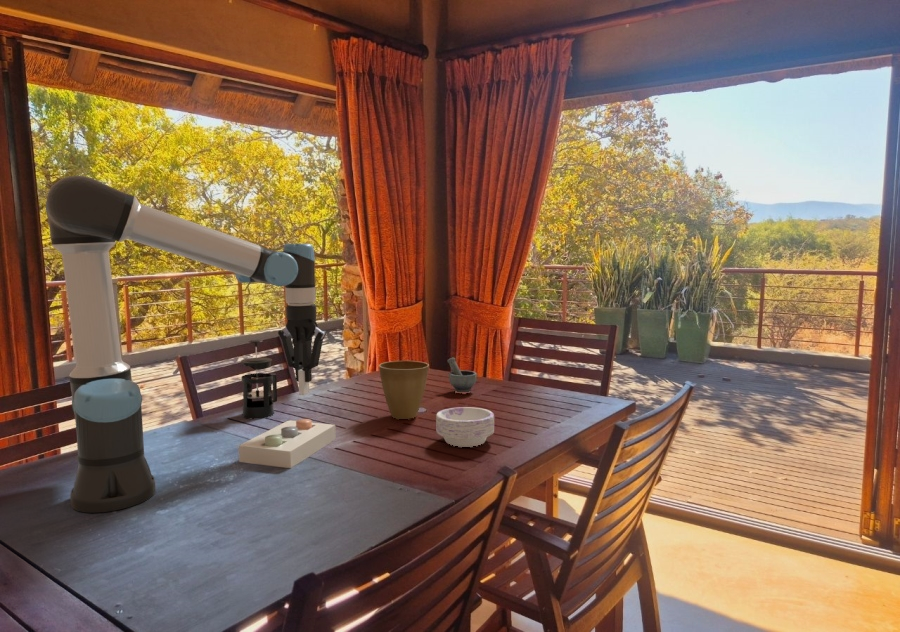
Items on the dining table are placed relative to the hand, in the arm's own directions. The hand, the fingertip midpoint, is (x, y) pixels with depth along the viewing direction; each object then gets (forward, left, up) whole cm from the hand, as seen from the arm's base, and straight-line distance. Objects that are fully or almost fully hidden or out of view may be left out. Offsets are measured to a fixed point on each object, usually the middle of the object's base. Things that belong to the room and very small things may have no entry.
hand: (304, 393), depth 157 cm
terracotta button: (0, 0, -11) cm, 11 cm away
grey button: (-7, 0, -11) cm, 13 cm away
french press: (+19, +27, -13) cm, 35 cm away
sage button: (-14, 0, -11) cm, 18 cm away
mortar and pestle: (+65, -24, -13) cm, 70 cm away
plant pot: (+30, -16, -13) cm, 36 cm away
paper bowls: (+12, -40, -13) cm, 44 cm away
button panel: (-7, 0, -13) cm, 15 cm away
